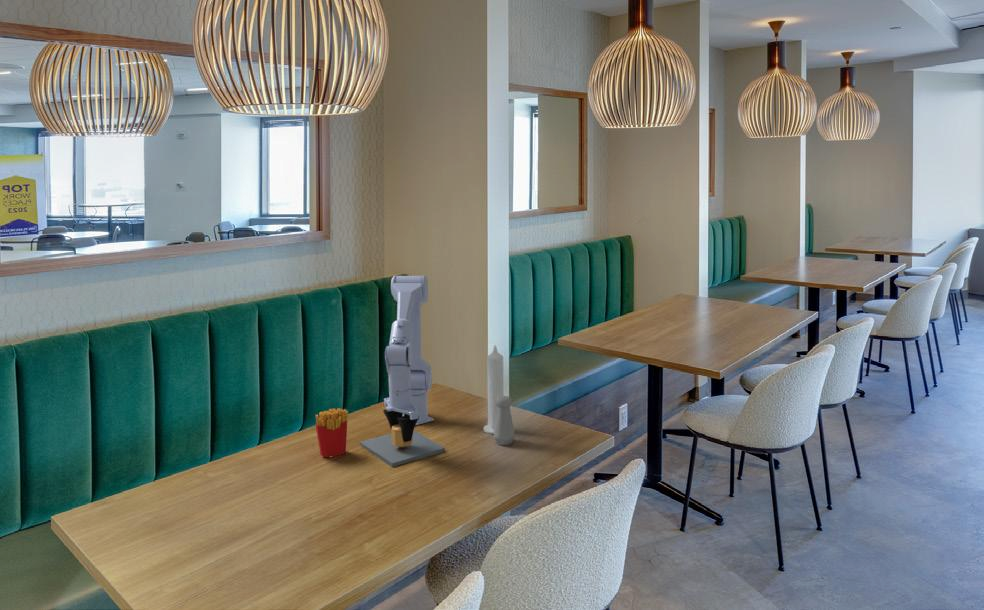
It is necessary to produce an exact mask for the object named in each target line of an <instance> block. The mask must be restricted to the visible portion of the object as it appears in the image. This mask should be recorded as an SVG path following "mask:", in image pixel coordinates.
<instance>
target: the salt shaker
mask: <svg viewBox="0 0 984 610" xmlns="http://www.w3.org/2000/svg"><path fill="white" fill-rule="evenodd" d="M496 405H497V406H498V412H497V418H496V424H495V430H494V434H493V438H494V440H495V443H496V444H497V445H499V446H509V445H511V444H513V441H514V439H515V436H516V435H515V434H516V433H515V428H514V425H513V424H514V423H513V419H512V412H511V407H512V405H513V400H512V398H511V397H510V396H507V395H504V396H500V397H498V398H497V399H496Z"/></svg>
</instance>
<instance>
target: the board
mask: <svg viewBox="0 0 984 610" xmlns="http://www.w3.org/2000/svg"><path fill="white" fill-rule="evenodd" d="M358 443H359V446H360V445H361V446H363V447H364V448H365V450H366V449H367V450H368V452H369V451H370V452H371V453H370V452H369V453H370V454H372V453H373V454H374V456H375V455H376V457H377V458H378V457H379V458H378V459H379V460H381V461H383V462H384V463H386V464H387V465H389V466H390V467H392V468H393V466H394V467H396V466H400V464H401V465H404V464H407V462H408V463H410V462H414V461H418V460H421V459H424V458H428V457H431V456H434V455H437V454H441V453H445V452H446V447H444V446H443V445H441V444H439V443H437V442H435V441H434V440H432V439H430V438H428V437H426V436H425V435H424V434H421V433H419V432H418V431H415V430H414V431H413V442H412V444H411V445H408V446H407V448H406V449H404V450H399V449H398V446H394V445H393V444H392V436H391V433H388V434H384V435H380V436H376V437H373V438H368V439H364V440H362V441H359V442H358ZM361 446H360V447H361ZM363 447H362V448H363ZM364 448H363V449H364ZM367 450H366V451H367ZM373 454H372V455H373ZM403 463H404V464H403Z"/></svg>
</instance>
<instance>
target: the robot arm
mask: <svg viewBox="0 0 984 610" xmlns="http://www.w3.org/2000/svg"><path fill="white" fill-rule="evenodd" d="M428 280H429V279H428V278H427V276H426V275H425V274H424V275H397V274H396V275H393V277H392V278H391V281H390V292H391V296H392V297H393V300H394V301H395V302H397V307H396V308H397V309H396V313H397V314H396V320H394V321H393V322H392V324H391V329H390V337H389V343H388V345H386V347H385V351H384V360H385V366H386V372H387V376H388V393H389V394H388V395H389V397H385V398H383V404H384V405H383V406H385V409H383V414H384V416H385V417H386V419H387V421H388V424H389V428H390V430H391V429H392V426H393V425H395V424H400V427H401V431H402V438H403V441H404V442H408V441H411V440H412V435H413V431H415V427H416V426H417V425H422V424H425V423H426V424H427V423H430V422H432V421H434V418H433V417H431V416H429V415H428V414H429V413H428V392H429V391H430V390H431V389H432V386H433V384H432V383H433V374H432V368H431V367H432V366H431V364H430V363H429V362H428V361H426V360H425V359H423V358H422V332H421V331H422V323H421V322H422V321H421V320H422V318H421V314H422V313H421V308H422V305H423V304H425V303H427V302H428V300H429V281H428Z"/></svg>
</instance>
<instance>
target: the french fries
mask: <svg viewBox="0 0 984 610" xmlns="http://www.w3.org/2000/svg"><path fill="white" fill-rule="evenodd" d="M318 414H319V415H318ZM318 414H315V420H316V423H315V424H314V425H315V430H316V437H317V441H318V448H319V453H320V456H321V455H322V456H323V457H330V456H335V457H337V456H336V455H340V456H342V455H341V454H343V453H345V452H347V451H346V450H347V436H348V435H347V434H348V416H349V411H348V410H347V409H346V408H344V409H343V408H339V407H338V408H337V409H336V407H335V408H329V409H328V410H324V411H320V412H319V413H318ZM345 454H346V453H345ZM343 455H344V454H343ZM322 456H321V457H322ZM330 458H331V457H330Z"/></svg>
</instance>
